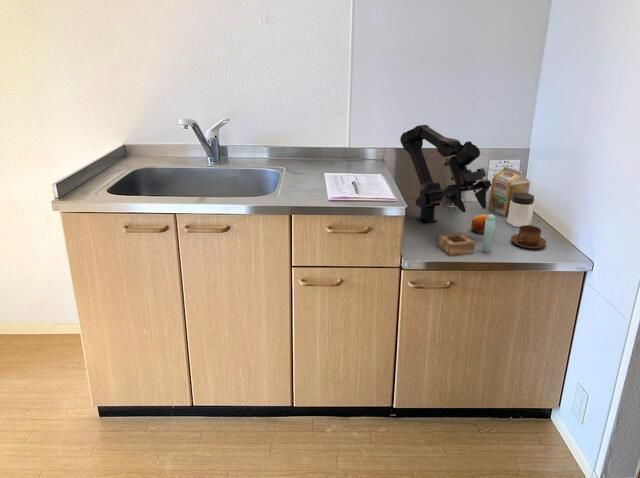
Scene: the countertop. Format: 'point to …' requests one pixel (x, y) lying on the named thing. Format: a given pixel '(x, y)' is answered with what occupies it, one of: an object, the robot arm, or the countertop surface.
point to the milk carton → (506, 189)
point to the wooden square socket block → (456, 244)
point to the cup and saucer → (529, 237)
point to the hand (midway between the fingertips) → (474, 210)
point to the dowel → (488, 233)
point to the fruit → (479, 223)
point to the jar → (521, 209)
